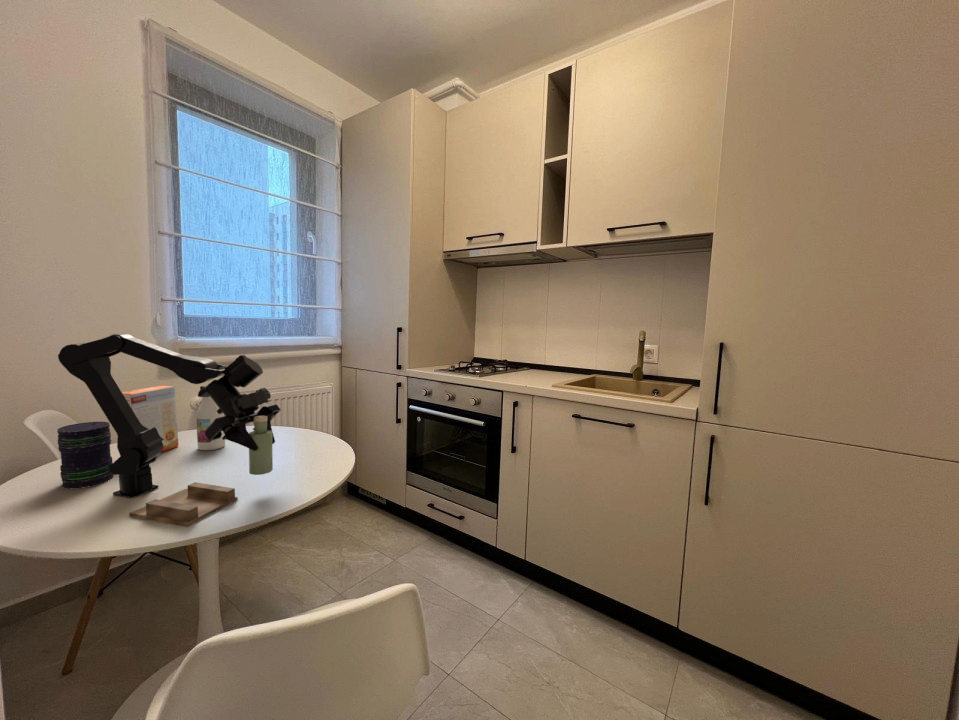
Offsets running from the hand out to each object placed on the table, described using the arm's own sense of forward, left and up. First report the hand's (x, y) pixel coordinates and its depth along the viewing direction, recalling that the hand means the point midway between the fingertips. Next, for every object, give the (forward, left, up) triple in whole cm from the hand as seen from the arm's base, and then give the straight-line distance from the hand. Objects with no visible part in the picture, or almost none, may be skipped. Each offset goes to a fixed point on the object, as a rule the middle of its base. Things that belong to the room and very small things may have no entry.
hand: (265, 446), depth 98 cm
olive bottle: (-1, 0, -7) cm, 7 cm away
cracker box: (-56, +13, -13) cm, 59 cm away
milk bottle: (-43, +23, -13) cm, 51 cm away
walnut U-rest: (-13, -12, -12) cm, 21 cm away
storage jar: (-49, -8, -13) cm, 51 cm away
